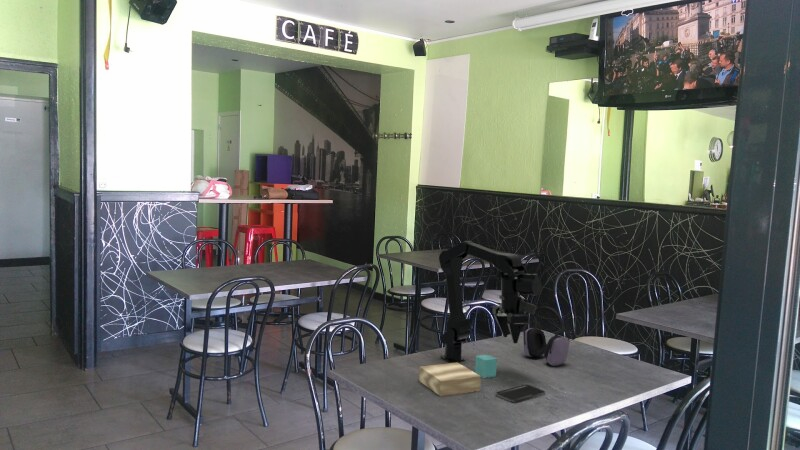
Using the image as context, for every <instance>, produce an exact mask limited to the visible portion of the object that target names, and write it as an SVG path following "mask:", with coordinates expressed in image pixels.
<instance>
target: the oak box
mask: <svg viewBox="0 0 800 450" xmlns="http://www.w3.org/2000/svg"><path fill="white" fill-rule="evenodd" d="M418 381H419V382H420V383H421V384H423V385H424V386H425V387H427V388H428V389H430V390H431V391H433V392H434V393H435V394H437V395H438V396H439V397H446V396H453V395H459V394H460V395H461V394H467V393H468V392H469V393H474V391H476V392H480V391H481V384H482V377H481V376H480V375H478V374H476V373H475V371H473V370H472V369H469V368H468V367H467V366H465V365H462V364H461V363H459V361H456V362H448V363H440V364H430V365H423V366H422V365H421V366H419V375H418Z"/></svg>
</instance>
